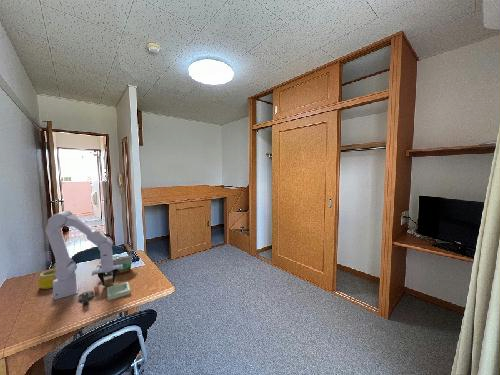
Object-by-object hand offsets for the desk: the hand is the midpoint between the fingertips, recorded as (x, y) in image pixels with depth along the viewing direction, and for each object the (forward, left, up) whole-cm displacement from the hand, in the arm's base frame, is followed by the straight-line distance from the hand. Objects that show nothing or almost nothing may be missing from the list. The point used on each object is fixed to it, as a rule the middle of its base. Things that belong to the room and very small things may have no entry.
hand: (108, 283), depth 122 cm
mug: (-26, +20, -2) cm, 33 cm away
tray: (+4, -11, -1) cm, 12 cm away
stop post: (-6, -4, -1) cm, 7 cm away
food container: (+9, +13, -2) cm, 16 cm away
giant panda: (0, +18, -2) cm, 18 cm away
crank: (-10, -9, -1) cm, 13 cm away
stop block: (0, 0, -1) cm, 1 cm away
